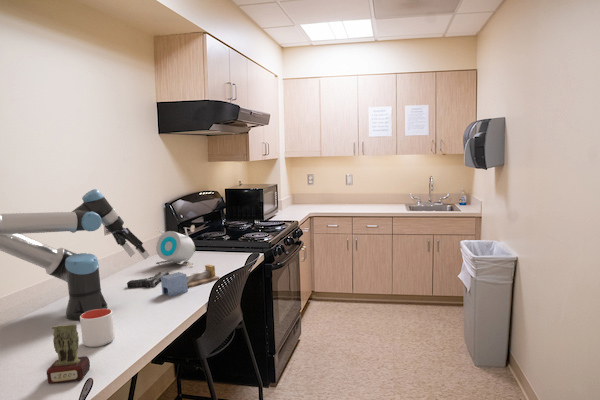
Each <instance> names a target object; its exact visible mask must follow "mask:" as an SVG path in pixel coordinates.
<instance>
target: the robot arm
mask: <svg viewBox="0 0 600 400" xmlns="http://www.w3.org/2000/svg"><path fill="white" fill-rule="evenodd" d="M81 199H82V201H83V202H82V203H81V204H80V205H79V206H77V207H76V208H75V209H73V210H72V211H64V212H63V211H61V212H59V211H55V212H22V213H21V212H19V213H17V212H16V213H14V212H13V213H0V251H1V252H3V253H5V254H8V255H9V256H10V255H11V256H13V257H15V258H18V259H20V260H22V261H24V262H25V261H26V262H28V263H30V264H32V265H35V266H37V267H40V268H43V269H45V272H46V274H47V275H50V276H52V277H54V278H57V279H59V280H62V281H64V282H66V283H67V289H68V301H67V306H66V310H65V316H66V318H67V319H68V320H69V321H70V320H71V321H80V316H81V315H82V314H83V313H85V312H88V311H91V310H95V309H109V308H108V303H107V301H106V299H105V297H104V295H103V293H102V288H101V277H100V268H99V267H100V263H99V260H98V257H97V256H96V255H95V254H93V253H86V252H80V253H76V252H73V251H71V250H69V249H66V248H63V247H60V248H55V247H52V246H49V245H47V244H44V243H43V242H40V241H38V240H36V239H33V238H32V237H29V236H27V235H24V234H40V233H41V234H42V233H59V232H62V233H63V232H70V233H72V234H75V233H76V232H84V231H86V232H95V231H97V230H98V229H100V228H101V226H104V228H105V229H106V230H107V232H109V233H111V235H112V237H113V238H114V240H115V242H116V244H117V245H119V246H120V247H122V248H123V249H124V251H125V252H126V253H127V254H128V256H129V257H130V258H131V257H132V256H134V255H135V254H136V252H135V251H134V249H133V248H132V247H131V246H130V244H131V245H133V246H134V247H135V250H136V251H137V252H138V253H139V255H141V257H142V258H143V260H146V259H147V258H148V257H150V254H149V253H148V251H147V250H146V249H145V247H144V246H143V244H144V242H142V241H141V240H140V239H139V238H138V237H137V236H136V235H135V234H134V233H132V231H131V230H130V229H129V227H124V223H125V222H124V220H123V219H122V218H121V216H120V215H119V214H118V213H117V211H116V209H115V208H113V206H111V204H110V203H109V201H108V199H106V197H105V195H103V193H102V192H100V190H99V189H96V188H95V189H91V190H89V191H88V192H86V193H84V195H83V196H82V198H81ZM128 242H129V243H130V244H129V243H128Z"/></svg>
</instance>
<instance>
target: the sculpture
mask: <svg viewBox="0 0 600 400" xmlns="http://www.w3.org/2000/svg"><path fill="white" fill-rule="evenodd" d="M77 328H78V327H77V324H66V325H65V324H64V325H63V324H62V325H55V326H52V327H51V330H53V333H52V335H53V340H52V341H53V347H54V351H55V353H56V354H57V356H58V359H57V360H55V361H54V362H53V363H52V364H51V365H50V366H49V367H48V368H47V369H46V378H47V383H48V384H53V383H55V384H56V383H65V382H77V381H82V380H83V379H84V378H85V376H86V374H87V373H88V372H89V371H90V367H91V366H90V364H91V361H90V358H89V356H79V357H78V349H79V342H80V340H79V333H78V329H77Z"/></svg>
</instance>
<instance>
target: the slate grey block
mask: <svg viewBox="0 0 600 400" xmlns="http://www.w3.org/2000/svg"><path fill="white" fill-rule="evenodd" d="M186 275H187V274H186V273H183V272H180V271H177V272H174V273H169V274H168V275H165V276H162V277H161V281H160V282H161V283H160V284H161V295H163V294H165V295H168V297H169V298H171V297H174V296H178V295H181V294H184V293H185V294H186V293H187V292H188V291H189V290H188V289H189V288H187V276H186ZM167 293H168V294H167Z"/></svg>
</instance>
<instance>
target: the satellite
mask: <svg viewBox="0 0 600 400" xmlns="http://www.w3.org/2000/svg"><path fill="white" fill-rule="evenodd" d="M183 229H184V232H185V234H182V233H179V232H176V231H174V230H173V231H172V230H169V231H163V230H161V229H159V228H157V232H159V233H161V235H160V236H159V238H158V239H157V242H156V247H155V248H156V253H157V255H158V257H159V258H160V259H162V261H157V262H155V265H158V266H161V265H160V264H164V263H165V264H166V263H171V262H173V263H176V264H179V265H183V264H185V263H186V262H187V263H186V267H191V268H192V267H193V264H194V263H193V262H188V261H189V260H191V258H192V257H193V256H194V254H195V252H196V246H195V242H194V241H193V239H192V238H191V237H190V236H189V234H188V230H187V229H189V230H190V232H191V233H194V232H195V231H196V227H195V225H194V224H192V225H190V227H183Z"/></svg>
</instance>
